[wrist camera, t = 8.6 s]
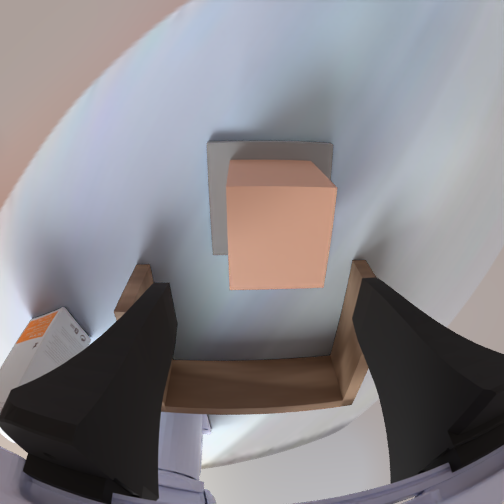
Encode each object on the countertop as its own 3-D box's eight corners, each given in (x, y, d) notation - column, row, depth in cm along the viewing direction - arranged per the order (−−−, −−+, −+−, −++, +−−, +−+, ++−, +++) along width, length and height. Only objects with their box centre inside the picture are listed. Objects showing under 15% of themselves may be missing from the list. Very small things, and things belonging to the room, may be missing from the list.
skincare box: (64, 303, 21) (3, 418, 11) (92, 338, 23) (49, 452, 13) (29, 318, 22) (-25, 413, 12) (55, 348, 24) (13, 444, 14)
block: (304, 239, 19) (323, 287, 14) (231, 240, 18) (229, 290, 14) (310, 160, 16) (337, 187, 12) (229, 159, 16) (225, 186, 12)
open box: (338, 361, 26) (351, 404, 21) (164, 366, 25) (155, 411, 21) (365, 260, 20) (392, 304, 16) (136, 264, 20) (113, 311, 15)
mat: (320, 248, 20) (322, 252, 19) (213, 250, 19) (212, 255, 19) (330, 142, 16) (333, 144, 16) (207, 141, 16) (206, 143, 15)
